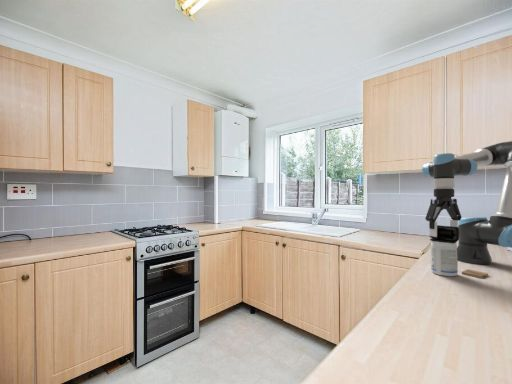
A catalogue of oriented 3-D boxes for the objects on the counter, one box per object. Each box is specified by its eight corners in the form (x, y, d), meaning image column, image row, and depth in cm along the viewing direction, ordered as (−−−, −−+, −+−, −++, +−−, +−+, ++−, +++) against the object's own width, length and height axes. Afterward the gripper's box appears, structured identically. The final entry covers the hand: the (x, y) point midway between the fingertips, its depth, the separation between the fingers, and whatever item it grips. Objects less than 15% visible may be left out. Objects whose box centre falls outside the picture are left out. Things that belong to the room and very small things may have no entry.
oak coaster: (468, 271, 118) (468, 269, 118) (488, 275, 112) (488, 273, 112) (461, 273, 114) (461, 271, 114) (481, 278, 108) (481, 276, 108)
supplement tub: (461, 274, 113) (461, 241, 113) (452, 278, 108) (452, 244, 108) (436, 269, 122) (436, 238, 121) (427, 272, 116) (427, 240, 116)
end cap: (459, 241, 113) (459, 226, 113) (455, 243, 109) (455, 227, 109) (433, 238, 121) (433, 224, 121) (428, 240, 116) (428, 225, 116)
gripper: (453, 188, 123) (453, 232, 123) (416, 188, 114) (416, 235, 114) (471, 188, 115) (471, 234, 116) (432, 188, 107) (432, 238, 107)
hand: (443, 235), depth 115 cm, fingers open, 13 cm apart
